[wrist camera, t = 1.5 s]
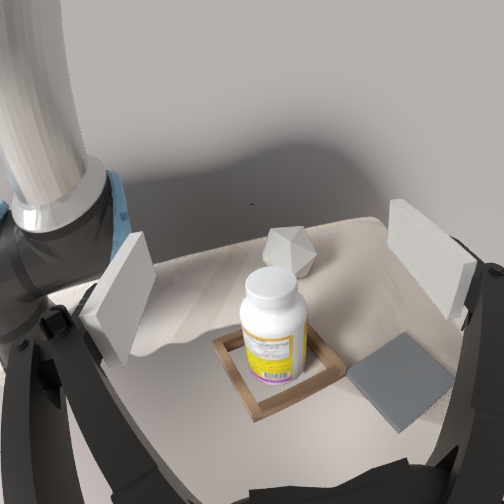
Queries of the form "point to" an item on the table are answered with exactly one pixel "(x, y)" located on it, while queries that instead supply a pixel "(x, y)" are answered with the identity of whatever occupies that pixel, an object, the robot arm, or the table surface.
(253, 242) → the table surface
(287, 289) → the supplement bottle
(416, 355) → the slate coaster
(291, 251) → the die
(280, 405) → the walnut frame
